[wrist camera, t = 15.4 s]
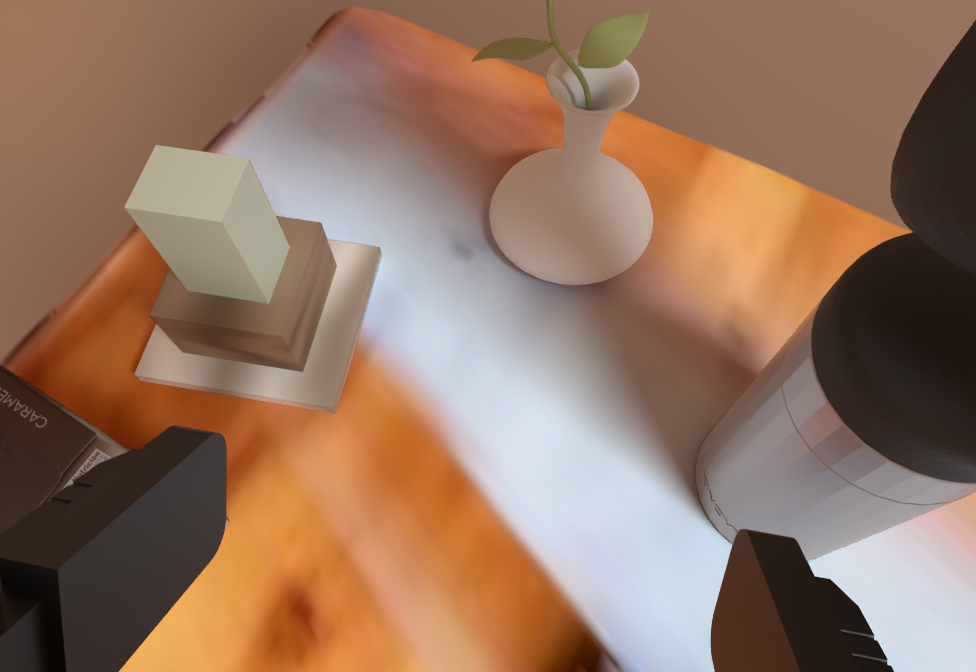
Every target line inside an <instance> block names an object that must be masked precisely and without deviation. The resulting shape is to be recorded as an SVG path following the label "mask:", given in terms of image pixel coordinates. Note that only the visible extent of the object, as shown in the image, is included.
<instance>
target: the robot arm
mask: <svg viewBox="0 0 976 672" xmlns="http://www.w3.org/2000/svg"><path fill="white" fill-rule="evenodd" d="M891 198H892V201H893V204H894V206H895V208H896V210H897V212H898V214H899V216H900V217H901V219H902V220H903V222H904V223H905V224H906V225H907V226H908V227H909V228H910V229H911V230H912V231H913V233H909V234H905V235H901V236H898V237H895V238H892V239H890V240H887V241H885V242H883V243H881V244H879V245H878V246H876V247H874V248H872V249H871V250H869V251H868V252H866V253H865V254H863V255H862V256H861V257H860V258H858V259H857V260H856V261H855V262H854V263H853V264H852V265H851V266H850V267H849V268H848V269H847V270H846V271H845V272H844V273H843V274H842V276H841V277H840V278H839V279H838V280H837V282H836V283H835V284H834V285H833V286H832V288H831V289H830V290H829V291H828V292H827V294H826V295H825V296H824V297H823V298H822V299H821V301H820V302H819V303H818V304H817V305H816V307H815V308H814V309H813V310H812V311H811V313H810V314H809V315H808V316H807V317H806V319H805V320H804V321H803V322H802V323H801V325H800V326H799V327H798V328H797V329H796V331H795V332H794V333H793V335H792V336H791V337H790V338H789V339H788V341H787V342H786V343H785V344H784V345H783V347H782V348H781V349H780V350H779V351H778V352H777V354H776V355H775V356H774V357H773V358H772V360H771V361H770V362H769V363H768V364H767V366H766V367H765V368H764V369H763V370H762V372H761V373H760V374H759V375H758V376H757V377H756V379H755V380H754V381H753V382H752V383H751V385H750V386H749V387H748V388H747V389H746V391H745V392H744V393H743V394H742V395H741V397H740V398H739V399H738V400H737V401H736V402H735V404H734V405H733V406H732V407H731V408H730V409H729V411H728V412H727V413H726V414H725V415H724V416H723V418H722V419H721V420H720V421H719V423H718V424H717V425H716V426H715V427H714V429H713V430H712V431H711V432H710V434H709V435H708V436H707V438H706V439H705V440H704V442H703V444H702V447H701V449H700V451H699V453H698V458H697V463H696V486H697V490H698V494H699V498H700V501H701V503H702V505H703V507H704V509H705V512H706V514H707V516H708V517H709V519H710V520H711V521H712V523H713V524H714V525H715V527H716V528H717V530H718V531H719V532H720V533H721V534H722V535H723V536H724V537H726V538H727V539H728V540H729V541H730V542H731V543H732V544H733V545H732V549H731V552H730V556H729V560H728V563H727V567H726V571H725V574H724V578H723V581H722V585H721V589H720V592H719V596H718V599H717V603H716V607H715V610H714V614H713V620H712V627H711V654H712V661H713V665H714V669H715V672H894V671H893V669H892V667H891V666H889V665H887V658H886V656H885V654H884V652H883V650H882V649H881V647H880V645H879V643H878V641H875V640H874V634H873V632H872V630H871V628H870V627H869V625H868V623H867V621H866V619H865V617H864V616H863V614H862V612H861V610H860V608H859V606H858V605H857V604H855V603H854V602H853V601H852V600H851V599H850V598H849V597H848V596H847V595H846V594H845V593H844V592H843V591H842V590H841V589H840V588H839V587H838V586H837V585H836V584H835V583H834V582H833V581H831V580H830V579H826V578H820V577H815V576H814V574H813V572H812V570H811V568H810V566H809V564H808V562H807V561H808V560H812V559H815V558H818V557H820V556H823V555H825V554H828V553H830V552H832V551H835V550H837V549H840V548H843V547H845V546H848V545H850V544H853V543H855V542H857V541H860V540H862V539H865V538H867V537H870V536H872V535H874V534H877V533H879V532H882V531H884V530H886V529H889V528H891V527H894V526H896V525H898V524H901V523H903V522H906V521H908V520H911V519H913V518H915V517H918V516H920V515H923V514H925V513H927V512H930V511H932V510H935V509H937V508H939V507H942V506H944V505H947V504H949V503H952V502H954V501H956V500H959V499H961V498H964V497H966V496H968V495H971V494H972V493H975V492H976V21H975V22H974V23H973V25H972V26H971V27H970V29H969V30H968V31H967V33H966V34H965V35H964V37H963V38H962V39H961V41H960V42H959V44H958V45H957V46H956V47H955V49H954V50H953V52H952V53H951V54H950V56H949V57H948V59H947V60H946V62H945V63H944V65H943V66H942V67H941V69H940V70H939V72H938V73H937V75H936V77H935V78H934V79H933V81H932V82H931V84H930V85H929V87H928V88H927V90H926V92H925V93H924V95H923V96H922V98H921V100H920V102H919V104H918V106H917V108H916V110H915V111H914V113H913V115H912V117H911V119H910V121H909V123H908V124H907V126H906V128H905V130H904V132H903V135H902V138H901V140H900V144H899V146H898V149H897V152H896V155H895V158H894V161H893V164H892V173H891ZM226 472H227V449H226V442H225V439H224V437H223V435H221V434H219V433H215V432H209V431H203V430H198V429H192V428H187V427H181V426H171V427H169V428H168V429H166V430H165V431H164V432H162V433H161V434H160V435H158V436H157V437H156V438H154V439H153V440H152V441H150V442H149V443H148V444H147V445H145V446H144V447H143V448H141V449H140V450H139V451H136V450H131V451H128V452H126V453H123V454H121V455H118V456H116V457H113V458H111V459H108V460H106V461H103V462H100V463H98V464H97V465H95V466H94V467H93V468H91V469H90V470H89V471H87V472H86V473H84V474H83V475H82V476H80V477H79V478H77V479H76V480H75V481H73V484H72V486H69V485H68V486H66V487H65V488H64V489H62V490H61V491H60V492H58V493H57V494H55V495H54V496H53V497H52V499H51V501H50V502H48V501H46V502H44V503H43V504H42V505H40V506H39V507H37V508H36V509H35V510H33V511H32V512H31V513H29V514H28V515H26V516H25V517H24V518H22V519H21V520H20V521H18V522H17V523H15V524H14V525H13V526H11V527H10V528H8V529H7V530H6V531H4V532H3V533H2V534H0V672H119V670H120V669H121V668H122V667H123V666H124V664H125V663H126V662H127V661H128V660H129V658H130V657H131V656H132V655H133V654H134V652H135V651H136V650H137V649H138V648H139V646H140V645H141V644H142V643H143V642H144V640H145V639H146V638H147V637H148V636H149V634H150V633H151V632H152V631H153V630H154V628H155V627H156V626H157V625H158V624H159V622H160V621H161V620H162V619H163V618H164V616H165V615H166V614H167V613H168V612H169V610H170V609H171V608H172V607H173V606H174V604H175V603H176V602H177V601H178V600H179V598H180V597H181V596H182V595H183V594H184V592H185V591H186V590H187V589H188V588H189V586H190V585H191V584H192V583H193V582H194V580H195V579H196V578H197V577H198V576H199V574H200V573H201V572H202V571H203V570H204V568H205V567H206V566H207V565H208V564H209V562H210V561H211V560H212V559H213V557H214V556H215V554H216V552H217V550H218V548H219V546H220V544H221V541H222V538H223V535H224V531H225V525H226Z"/></svg>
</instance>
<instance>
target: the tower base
mask: <svg viewBox="0 0 976 672" xmlns="http://www.w3.org/2000/svg"><path fill="white" fill-rule="evenodd" d="M276 218H277V220H278V222H279V224H280V227H281V229H282V231H283V233H284V235H285V238H286V240H287V242H288V244H289V246H290V248H289V251H288V254H287V257H286V259H285V262H284V265H283V267H282V270H281V273H280V276H279V278H278V281H277V284H276V286H275V289H274V292H273V295H272V297H271V300H270V303H269V304H267V303H261V302H255V301H248V300H242V299H236V298H230V297H223V296H217V295H211V294H205V293H198V292H192V291H187V289H186V288H185V287H184V285H183V284H182V283H181V281H180V280H179V279H178V277H177V276H176V275H175V273H174V272H173V271H172V270H171V268H170V269H169V272H168V274H167V276H166V278H165V281H164V283H163V285H162V287H161V290H160V292H159V294H158V296H157V299H156V301H155V303H154V305H153V308H152V310H151V312H150V314H149V316H150V317H151V318H152V319H153V320H154V321H155V323H156V325H155V328H154V330H153V332H152V335H151V337H150V339H149V341H148V344H147V346H146V348H145V351H144V353H143V355H142V357H141V360H140V362H139V364H138V367H137V369H136V371H135V373H134V375H135V376H136V377H137V378H138V379H139V380H140V381H144V382H150V383H156V384H162V385H168V386H174V387H180V388H186V389H192V390H198V391H204V392H210V393H216V394H222V395H228V396H234V397H240V398H246V399H252V400H258V401H264V402H270V403H276V404H282V405H288V406H294V407H300V408H306V409H312V410H318V411H324V412H330V413H336V412H337V409H338V405H339V402H340V398H341V395H342V391H343V388H344V384H345V381H346V377H347V374H348V371H349V367H350V364H351V360H352V357H353V353H354V350H355V346H356V343H357V339H358V336H359V332H360V329H361V326H362V322H363V319H364V315H365V312H366V308H367V305H368V301H369V298H370V294H371V291H372V288H373V284H374V281H375V277H376V274H377V270H378V267H379V263H380V260H381V256H382V254H381V250H380V247H375V246H368V245H361V244H354V243H348V242H341V241H334V240H327V237H326V235H325V232H324V229H323V226H322V224H321V223H320V222H313V221H306V220H299V219H292V218H285V217H278V216H276Z"/></svg>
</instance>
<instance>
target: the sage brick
mask: <svg viewBox="0 0 976 672" xmlns="http://www.w3.org/2000/svg"><path fill="white" fill-rule="evenodd" d="M124 208H125V209H126V210H127V212H128V213H129V214H130V216H131V217H132V218H133V220H134V221H135V222H136V224H137V225H138V226H139V228H140V229H141V230H142V232H143V233H144V234H145V235H146V237H147V238H148V239H149V241H150V242H151V243H152V245H153V246H154V247H155V249H156V250H157V251H158V252H159V254H160V255H161V256H162V258H163V259H164V260H165V262H166V263H167V264H168V266H169V267H170V268H171V270H172V271H173V272H174V273H175V275H176V276H177V277H178V279H179V280H180V281H181V283H182V284H183V285H184V287H185V288H186V289H187V291H192V292H198V293H205V294H211V295H217V296H223V297H230V298H236V299H242V300H248V301H255V302H261V303H267V304H269V303H270V300H271V297H272V295H273V292H274V289H275V286H276V284H277V281H278V278H279V276H280V273H281V270H282V267H283V265H284V262H285V259H286V257H287V254H288V251H289V248H290V246H289V244H288V242H287V240H286V238H285V235H284V233H283V231H282V229H281V227H280V224H279V222H278V220H277V218H276V216H275V214H274V211H273V209H272V207H271V205H270V203H269V200H268V198H267V196H266V194H265V192H264V189H263V187H262V185H261V183H260V181H259V179H258V176H257V174H256V172H255V170H254V168H253V165H252V163H251V161H250V159H249V158H244V157H237V156H230V155H223V154H216V153H209V152H202V151H195V150H187V149H180V148H173V147H166V146H159V145H156V146H155V148H154V150H153V152H152V154H151V156H150V158H149V160H148V162H147V164H146V166H145V167H144V170H143V172H142V173H141V175H140V177H139V180H138V181H137V183H136V185H135V187H134V189H133V191H132V193H131V195H130V197H129V199H128V201H127V203H126V205H125V207H124Z"/></svg>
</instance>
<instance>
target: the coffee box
mask: <svg viewBox="0 0 976 672" xmlns="http://www.w3.org/2000/svg"><path fill="white" fill-rule="evenodd" d="M128 451H131V450H130V449H128V448H127V447H125V446H124V445H122V444H121V443H119V442H118V441H116V440H115V439H113V438H112V437H110V436H109V435H107V434H106V433H104V432H103V431H101V430H100V429H98V428H97V427H95V426H94V425H92V424H91V423H89V422H88V421H86V420H85V419H83V418H82V417H80V416H79V415H77V414H76V413H74V412H73V411H71V410H70V409H68V408H66V407H65V406H63V405H62V404H60V403H59V402H57V401H56V400H54V399H53V398H51V397H50V396H48V395H47V394H45V393H43V392H42V391H40V390H39V389H37V388H36V387H34V386H32V385H31V384H29V383H28V382H26V381H25V380H23V379H22V378H20V377H18V376H17V375H15V374H14V373H12V372H10V371H9V370H7V369H6V368H4V367H2V366H1V365H0V534H2V533H3V532H4V531H6V530H7V529H8V528H10V527H11V526H13V525H14V524H15V523H17V522H18V521H20V520H21V519H22V518H24V517H25V516H26V515H28V514H29V513H31V512H32V511H33V510H35V509H36V508H37V507H39V506H40V505H42V504H43V503H44V502H46V501H48V502H50V501H51V499H52V497H53V496H54V495H55V494H57V493H58V492H60V491H61V490H62V489H64V488H65V487H66V486H68V485H69V486H72V484H73V481H75V480H76V479H77V478H79V477H80V476H82V475H83V474H84V473H86V472H87V471H89V470H90V469H91V468H93V467H94V466H95V465H97V464H98V463H100V462H103V461H106V460H108V459H111V458H113V457H116V456H118V455H121V454H123V453H126V452H128ZM228 524H229V519H228V518H227V517H226V525H225V528H226V526H227V525H228Z"/></svg>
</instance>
